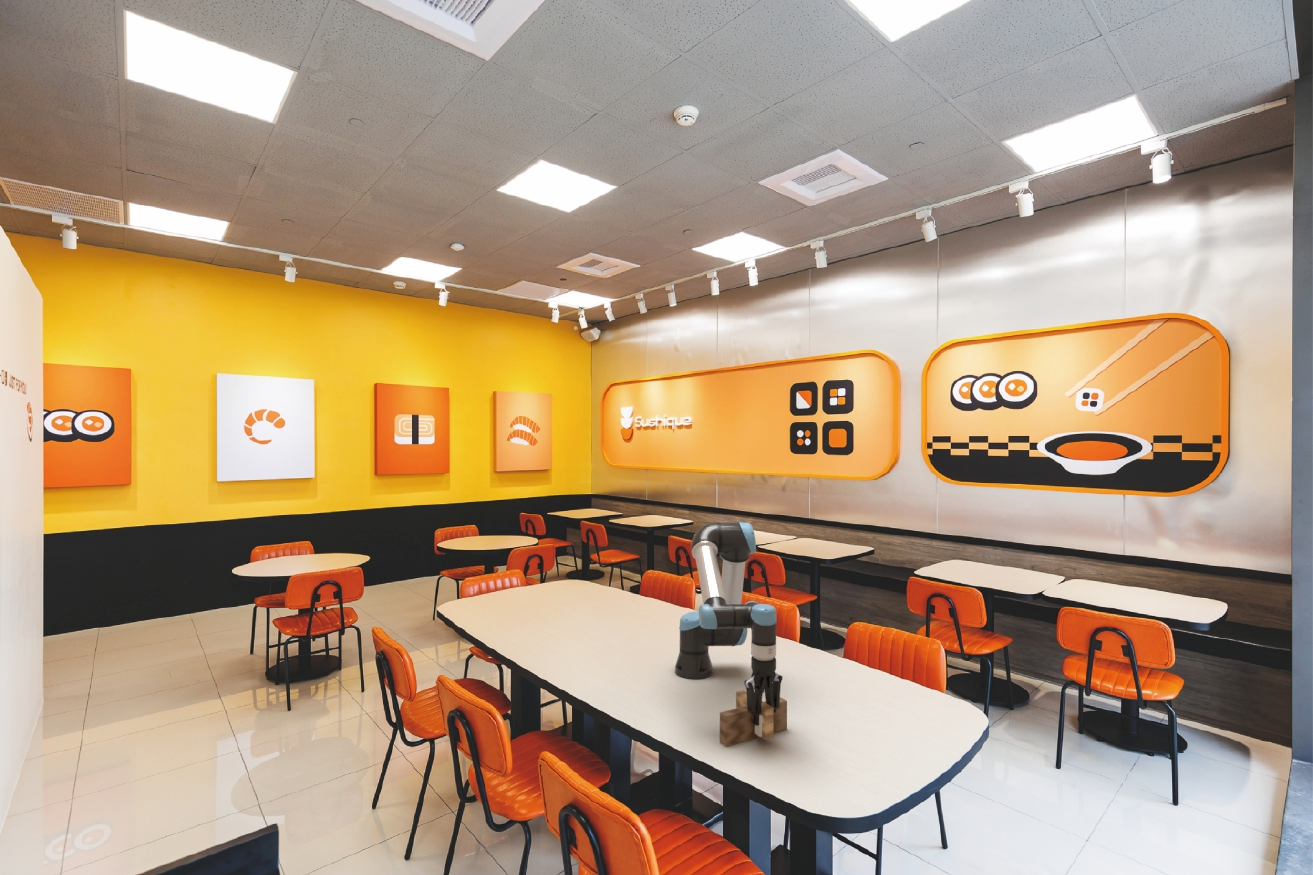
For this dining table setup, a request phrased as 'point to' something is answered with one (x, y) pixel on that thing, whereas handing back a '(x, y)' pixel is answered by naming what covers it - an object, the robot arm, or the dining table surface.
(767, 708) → the oak plate
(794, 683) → the dining table surface
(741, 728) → the walnut board
